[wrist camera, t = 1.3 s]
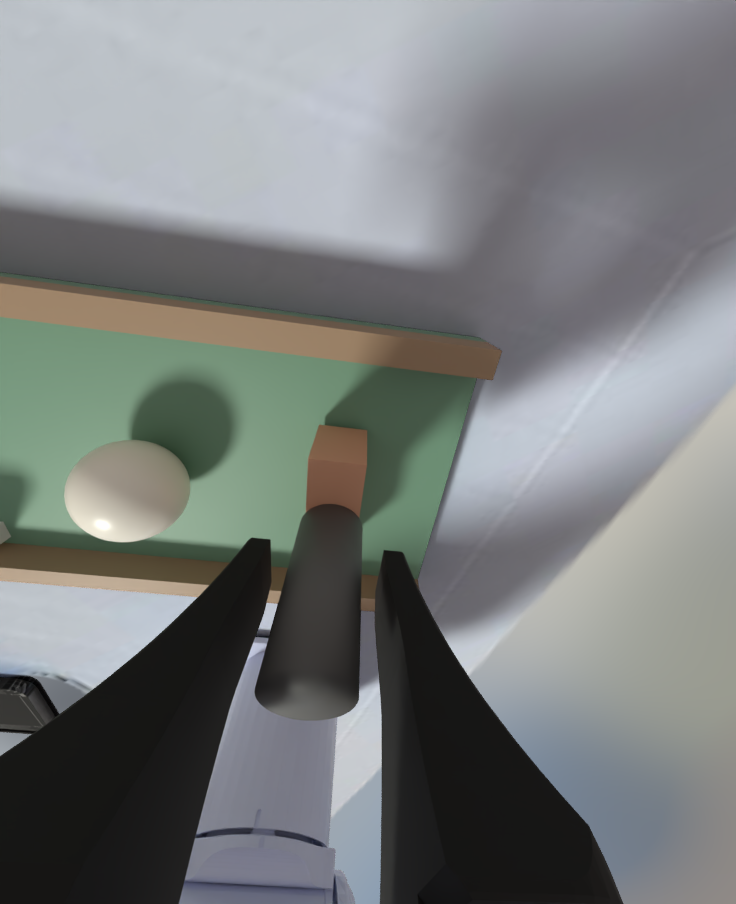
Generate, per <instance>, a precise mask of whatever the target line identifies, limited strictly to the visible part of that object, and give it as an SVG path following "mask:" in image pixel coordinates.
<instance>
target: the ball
mask: <svg viewBox="0 0 736 904" xmlns="http://www.w3.org/2000/svg"><path fill="white" fill-rule="evenodd" d="M189 496H190V479H189V475H188V472H187V470H186V468H185V466H184V465H183V463H182V462H181V461H180V459H179V458H178V457H177V456H176V455H174V454H173V453H172V452H171V451H169V450H167V449H166V448H164V447H162V446H160V445H158V444H155V443H151V442H147V441H141V440H122V441H116V442H111V443H109V444H106V445H103V446H100V447H98V448H96V449H95V450H93V451H91V452H89V453H88V454H87V455H85V456H84V457H83V458H82V459H80V461H79V462H78V463H77V464H76V465H75V466H74V468H73V469H72V471H71V472H70V474H69V476H68V478H67V481H66V485H65V491H64V498H65V505H66V508H67V511H68V513H69V515H70V517H71V518H72V520H73V521H74V522H75V523H76V524H77V525H78V526H79V527H80V528H81V529H82V530H84V531H85V532H87V533H89V534H90V535H92V536H94V537H97V538H99V539H103V540H107V541H113V542H134V541H139V540H144V539H147V538H150V537H152V536H155V535H157V534H159V533H161V532H162V531H164V530H166V529H167V528H168V527H170V526H171V525H172V524H173V523H174V522H175V521H176V520H177V519H178V518H179V517H180V515H181V514H182V513H183V511H184V510H185V507H186V505H187V503H188V500H189Z"/></svg>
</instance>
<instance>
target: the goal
mask: <svg viewBox="0 0 736 904" xmlns="http://www.w3.org/2000/svg"><path fill="white" fill-rule="evenodd" d="M10 537H11V535H10V533H9V531H8V530H7V528H6V526H5V524H4V522H0V544H2V543H3V542H5V541H6V540H7V539H9V538H10Z"/></svg>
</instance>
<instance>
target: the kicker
mask: <svg viewBox="0 0 736 904" xmlns="http://www.w3.org/2000/svg"><path fill="white" fill-rule="evenodd" d="M366 469H367V430H361V429H353V428H344V427H336V426H327V425H319V426H318V430H317V433H316V436H315V439H314V442H313V445H312V448H311V451H310V454H309V457H308V471H307V493H306V513H305V514H304V515H303V517H302V519H301V522H300V525H299V529H298V532H297V536H296V540H295V543H294V547H293V551H292V554H291V558H290V562H289V565H288V569H287V573H286V576H285V580H284V584H283V587H282V591H281V595H280V598H279V602H278V606H277V609H276V613H275V617H274V620H273V624H272V627H271V631H270V635H269V638H268V642H267V646H266V649H265V653H264V657H263V660H262V664H261V668H260V671H259V675H258V679H257V682H256V686H255V692H254V693H255V697H256V699H257V701H258V702H259V703H260V704H261V705H262V706H263V707H264V708H266V709H267V710H269V711H270V712H272V713H275V714H277V715H280V716H283V717H286V718H290V719H296V720H305V721H318V720H327V719H332V718H336V717H339V716H341V715H344V714H346V713H347V712H349V711H351V710H352V709H353V708H354V707H355V706H356V704H357V702H358V700H359V667H360V622H361V578H362V534H363V528H362V523H361V520H360V519H359V516H360V509H361V502H362V496H363V489H364V482H365V475H366Z"/></svg>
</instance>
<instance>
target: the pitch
mask: <svg viewBox="0 0 736 904" xmlns="http://www.w3.org/2000/svg"><path fill="white" fill-rule="evenodd" d="M501 352H502V351H501V350H500V349H498V348H496V347H495V346H493V345H491V344H489V343H488V342H486V341H484V340H483V339H481V338H478V337H471V336H464V335H456V334H449V333H442V332H434V331H427V330H420V329H412V328H405V327H398V326H390V325H383V324H376V323H368V322H361V321H354V320H346V319H339V318H332V317H324V316H317V315H310V314H302V313H295V312H288V311H280V310H273V309H266V308H259V307H251V306H244V305H237V304H229V303H222V302H215V301H207V300H200V299H193V298H185V297H178V296H171V295H163V294H156V293H149V292H141V291H134V290H127V289H119V288H112V287H105V286H97V285H90V284H83V283H75V282H68V281H61V280H53V279H46V278H39V277H32V276H24V275H17V274H10V273H2V272H0V522H4V524H5V526H6V528H7V530H8V531H9V533H10V535H11V537H10V538H9V539H7V540H6V541H5V542H3V543H2V544H0V581H9V582H22V583H34V584H46V585H58V586H70V587H82V588H95V589H107V590H119V591H131V592H143V593H155V594H167V595H180V596H192V597H199V596H200V595H201V593H202V592H203V591H204V590H205V589H206V588H207V587H208V586H209V585H210V584H211V583H212V582H213V581H214V579H215V578H216V577H217V576H218V575H219V574H220V573H221V572H222V571H223V570H224V568H225V567H226V566H227V565H228V564H229V563H230V562H231V560H232V559H233V558H234V557H235V556H236V554H237V553H238V552H239V551H240V550H241V548H242V547H243V546H244V545H245V543H246V542H247V541H248V540H249V539H250V538H262V539H271V575H272V583H271V587H270V591H269V595H268V599H267V603H277V604H278V602H279V598H280V595H281V591H282V587H283V584H284V580H285V576H286V573H287V569H288V565H289V562H290V558H291V554H292V551H293V547H294V543H295V540H296V536H297V532H298V529H299V525H300V522H301V519H302V517H303V515H304V514H305V513H306V493H307V471H308V457H309V454H310V451H311V448H312V445H313V442H314V439H315V436H316V433H317V430H318V426H319V425H327V426H336V427H344V428H353V429H361V430H367V469H366V475H365V482H364V489H363V496H362V502H361V509H360V516H359V519H360V520H361V523H362V528H363V534H362V578H361V610H362V611H374V612H375V590H376V585H377V580H378V576H379V571H380V566H381V561H382V556H383V551H384V550H389V551H400V552H403V553H404V555H405V557H406V560H407V563H408V565H409V568H410V570H411V573H412V575H413V577H414V580H415V582H416V584H417V586H418V576H419V573H420V569H421V566H422V563H423V559H424V556H425V552H426V549H427V546H428V542H429V539H430V535H431V532H432V529H433V525H434V522H435V518H436V515H437V512H438V508H439V505H440V501H441V498H442V495H443V491H444V488H445V485H446V481H447V478H448V474H449V471H450V468H451V464H452V461H453V457H454V454H455V451H456V447H457V444H458V440H459V437H460V434H461V430H462V427H463V424H464V420H465V417H466V413H467V410H468V407H469V403H470V400H471V396H472V393H473V390H474V386H475V383H476V379H477V378H479V379H487V380H493V377H494V374H495V371H496V368H497V365H498V362H499V359H500V356H501ZM122 440H141V441H147V442H151V443H155V444H158V445H160V446H162V447H164V448H166V449H167V450H169V451H171V452H172V453H173V454H174V455H176V456H177V457H178V458H179V459H180V461H181V462H182V463H183V465H184V466H185V468H186V470H187V472H188V475H189V479H190V496H189V500H188V503H187V505H186V507H185V510H184V511H183V513H182V514H181V515H180V517H179V518H178V519H177V520H176V521H175V522H174V523H173V524H172V525H171V526H170V527H168V528H167V529H166V530H164V531H162V532H161V533H159V534H157V535H155V536H152V537H150V538H147V539H144V540H139V541H134V542H113V541H107V540H103V539H99V538H97V537H94V536H92V535H90V534H89V533H87V532H85V531H84V530H82V529H81V528H80V527H79V526H78V525H77V524H76V523H75V522H74V521H73V520H72V518H71V517H70V515H69V513H68V511H67V508H66V505H65V498H64V491H65V485H66V481H67V478H68V476H69V474H70V472H71V471H72V469H73V468H74V466H75V465H76V464H77V463H78V462H79V461H80V459H82V458H83V457H84V456H85V455H87V454H88V453H89V452H91V451H93V450H95V449H96V448H98V447H100V446H103V445H106V444H109V443H111V442H116V441H122ZM418 588H419V586H418Z"/></svg>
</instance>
